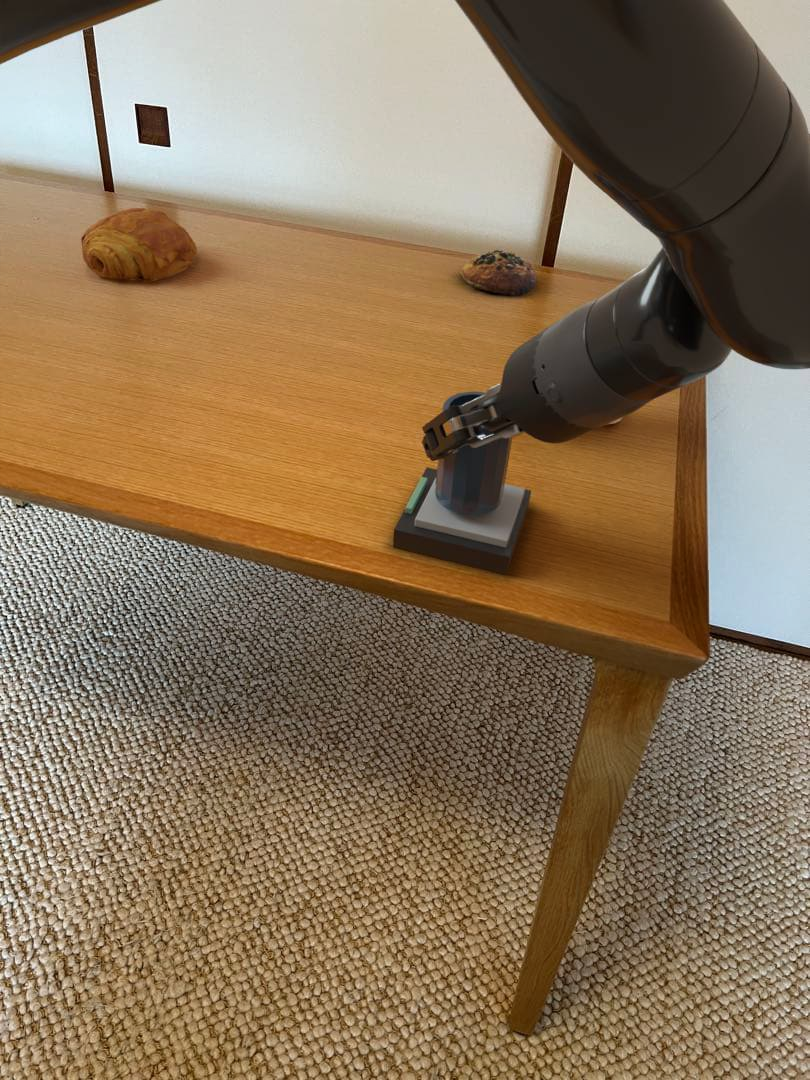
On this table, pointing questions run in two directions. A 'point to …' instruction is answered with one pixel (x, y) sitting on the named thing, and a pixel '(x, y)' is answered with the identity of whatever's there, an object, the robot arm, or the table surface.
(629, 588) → the table surface
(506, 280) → the bread roll
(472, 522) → the scale
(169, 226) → the croissant
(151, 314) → the table surface
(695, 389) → the table surface
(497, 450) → the cup
